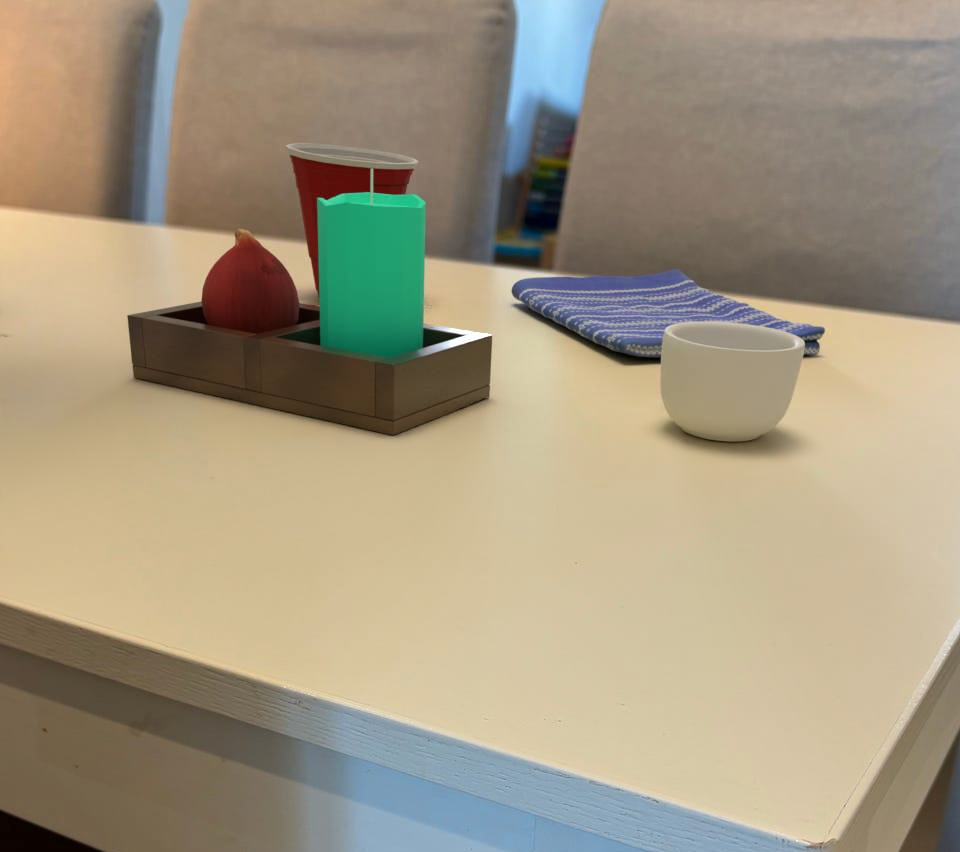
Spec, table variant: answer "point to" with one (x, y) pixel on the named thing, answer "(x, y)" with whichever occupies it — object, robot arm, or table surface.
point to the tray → (312, 369)
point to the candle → (371, 272)
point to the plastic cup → (342, 180)
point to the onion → (249, 289)
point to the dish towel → (642, 309)
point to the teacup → (728, 378)
